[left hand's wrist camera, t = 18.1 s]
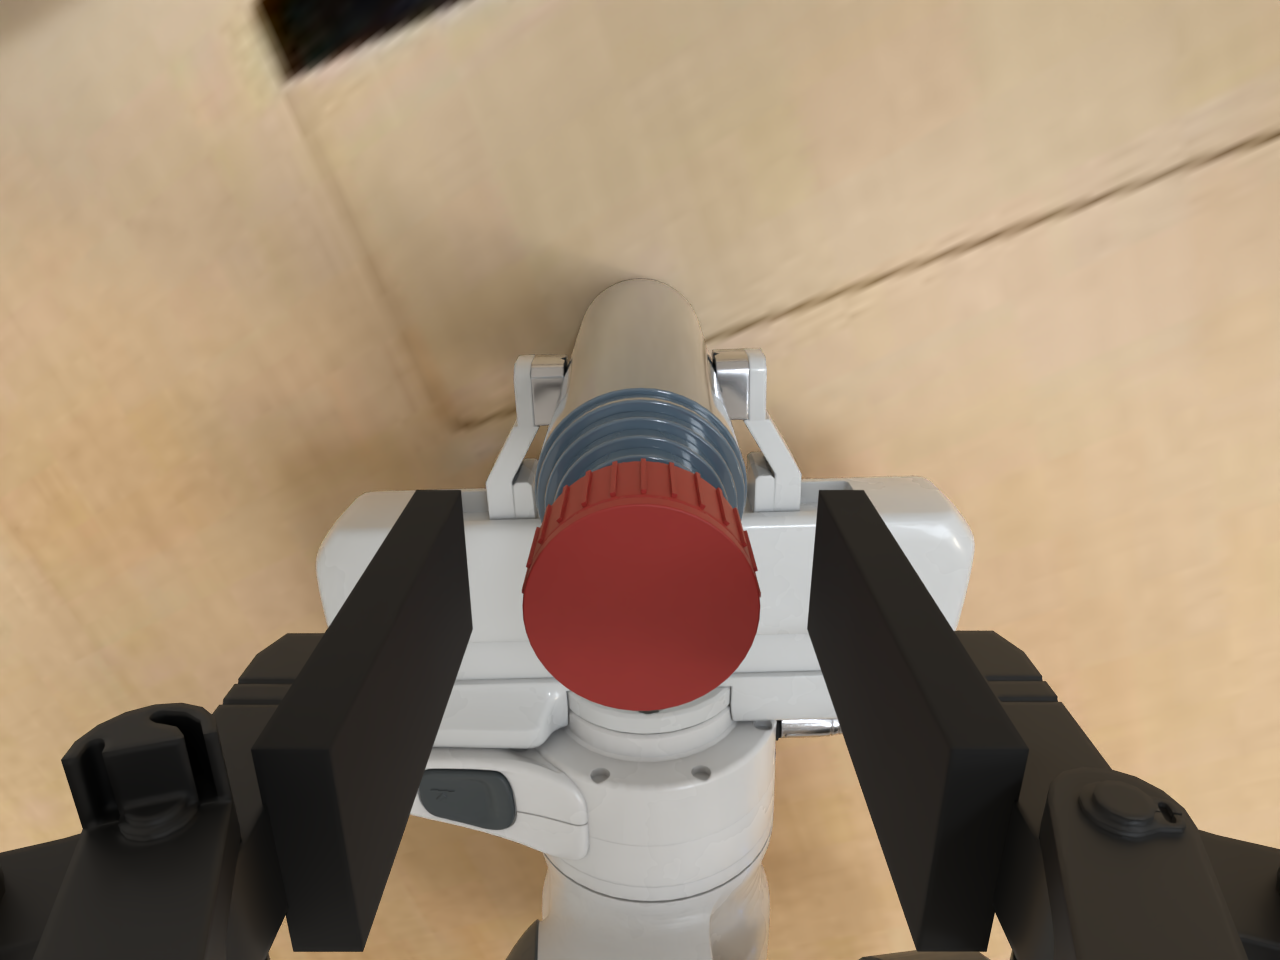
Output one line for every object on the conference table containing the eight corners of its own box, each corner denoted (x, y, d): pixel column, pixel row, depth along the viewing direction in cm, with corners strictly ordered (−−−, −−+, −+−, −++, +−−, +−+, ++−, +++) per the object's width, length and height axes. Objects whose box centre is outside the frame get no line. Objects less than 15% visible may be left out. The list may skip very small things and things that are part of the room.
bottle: (651, 421, 32) (665, 753, 15) (555, 352, 31) (449, 620, 14) (726, 328, 31) (837, 572, 13) (628, 252, 30) (611, 410, 12)
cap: (790, 512, 15) (810, 564, 13) (687, 679, 16) (693, 746, 14) (588, 419, 14) (582, 459, 12) (499, 601, 15) (481, 660, 13)
